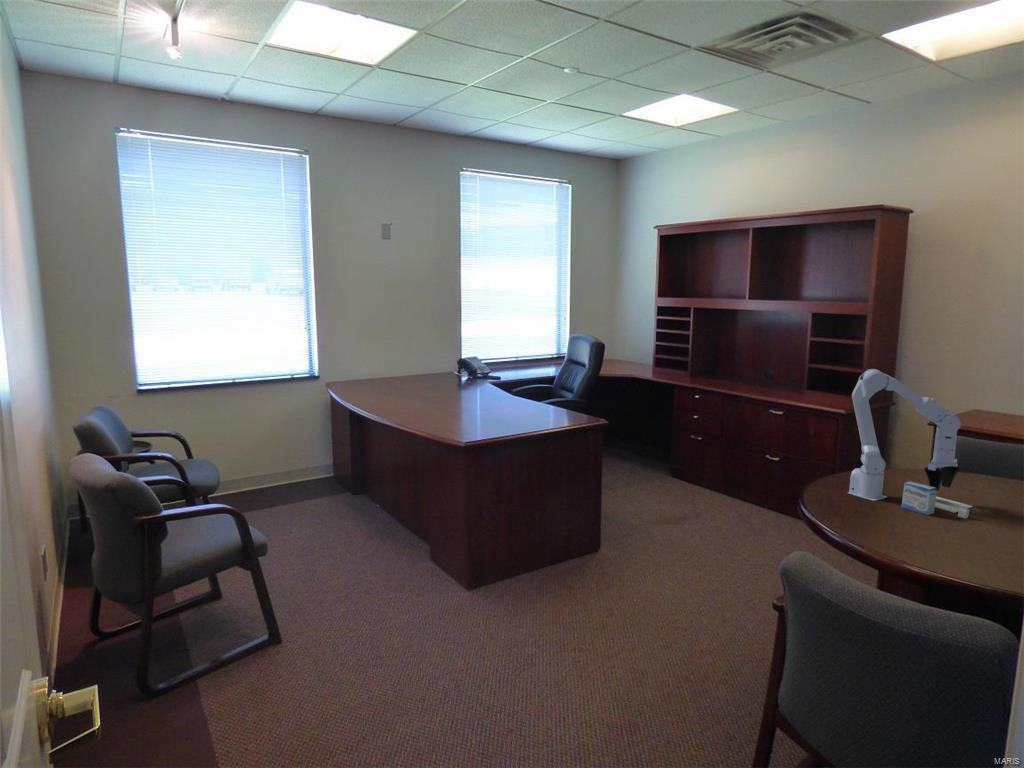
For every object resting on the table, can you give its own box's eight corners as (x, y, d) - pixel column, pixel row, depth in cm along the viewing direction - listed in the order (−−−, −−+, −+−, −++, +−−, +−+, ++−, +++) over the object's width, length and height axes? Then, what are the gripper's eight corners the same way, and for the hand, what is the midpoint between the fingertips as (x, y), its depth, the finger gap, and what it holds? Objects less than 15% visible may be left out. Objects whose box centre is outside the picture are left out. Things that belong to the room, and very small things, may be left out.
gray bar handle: (904, 501, 203) (904, 494, 203) (907, 500, 204) (907, 493, 204) (965, 518, 187) (966, 510, 187) (968, 517, 188) (969, 509, 188)
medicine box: (900, 508, 196) (903, 482, 195) (908, 505, 199) (910, 480, 197) (927, 515, 190) (930, 489, 188) (934, 513, 192) (937, 487, 191)
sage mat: (908, 500, 204) (908, 499, 204) (926, 494, 210) (926, 493, 210) (954, 513, 192) (954, 512, 192) (972, 506, 198) (972, 505, 198)
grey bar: (905, 494, 203) (905, 491, 203) (907, 493, 203) (907, 490, 203) (966, 510, 187) (967, 507, 187) (968, 510, 188) (968, 506, 188)
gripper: (947, 454, 191) (942, 495, 193) (969, 448, 198) (964, 488, 200) (923, 449, 197) (918, 489, 199) (945, 444, 204) (941, 482, 206)
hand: (940, 488), depth 200 cm, fingers open, 7 cm apart
